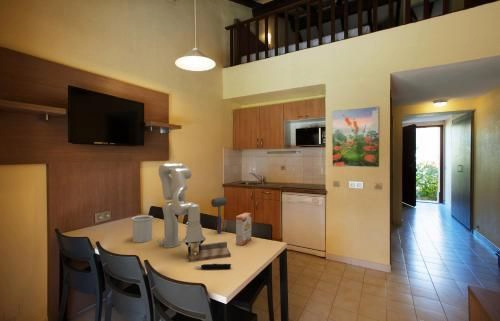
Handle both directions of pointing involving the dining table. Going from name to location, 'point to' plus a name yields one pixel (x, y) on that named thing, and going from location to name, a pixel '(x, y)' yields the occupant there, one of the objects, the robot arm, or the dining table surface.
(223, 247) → the board
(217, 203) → the rubber mallet
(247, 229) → the cracker box
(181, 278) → the dining table surface
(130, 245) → the dining table surface
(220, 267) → the utility knife
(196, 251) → the gauge
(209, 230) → the dining table surface
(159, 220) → the dining table surface
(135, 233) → the utensil holder
